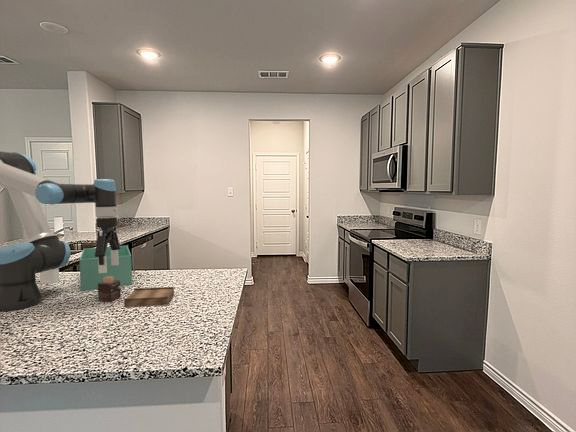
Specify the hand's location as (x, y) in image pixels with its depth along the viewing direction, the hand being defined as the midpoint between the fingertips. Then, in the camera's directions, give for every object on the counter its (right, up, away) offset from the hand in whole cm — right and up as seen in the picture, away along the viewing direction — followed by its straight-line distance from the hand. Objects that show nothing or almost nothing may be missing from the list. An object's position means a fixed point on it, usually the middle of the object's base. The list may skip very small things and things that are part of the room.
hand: (109, 268), depth 134 cm
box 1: (-18, -11, +30) cm, 37 cm away
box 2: (0, -13, +1) cm, 13 cm away
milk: (-43, -11, +26) cm, 52 cm away
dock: (+17, -13, 0) cm, 21 cm away
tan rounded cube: (-1, -6, +1) cm, 6 cm away
